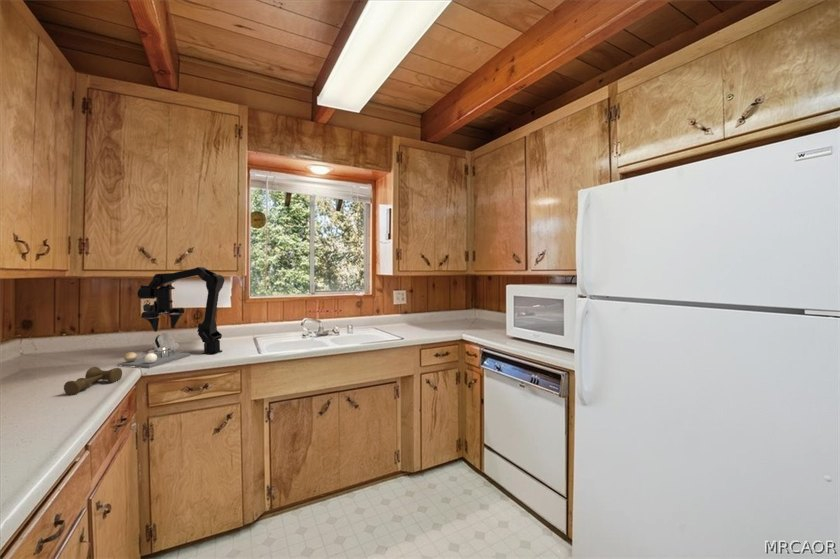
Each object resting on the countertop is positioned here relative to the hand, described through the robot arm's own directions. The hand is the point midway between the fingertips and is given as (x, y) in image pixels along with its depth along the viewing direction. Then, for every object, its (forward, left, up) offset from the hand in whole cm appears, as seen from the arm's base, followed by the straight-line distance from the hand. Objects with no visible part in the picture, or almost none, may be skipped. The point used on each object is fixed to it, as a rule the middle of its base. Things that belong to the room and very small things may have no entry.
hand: (164, 329), depth 174 cm
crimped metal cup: (-6, +7, -11) cm, 14 cm away
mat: (-8, +12, -12) cm, 18 cm away
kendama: (-17, +43, -12) cm, 48 cm away
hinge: (+7, -6, -12) cm, 15 cm away
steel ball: (-6, +7, -9) cm, 12 cm away
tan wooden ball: (-2, +19, -9) cm, 21 cm away
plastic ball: (-13, +19, -9) cm, 25 cm away
